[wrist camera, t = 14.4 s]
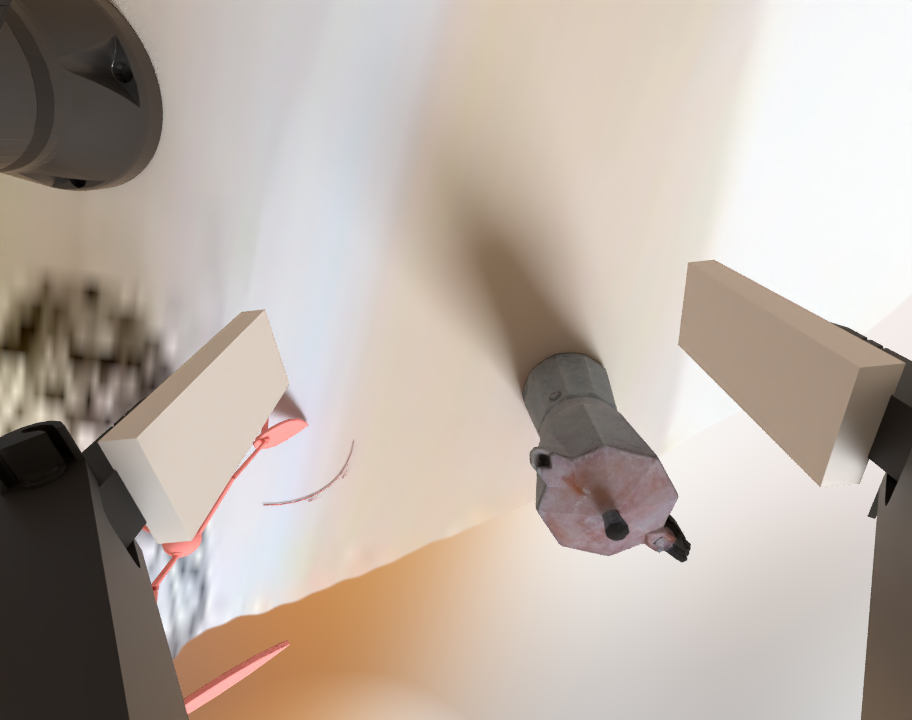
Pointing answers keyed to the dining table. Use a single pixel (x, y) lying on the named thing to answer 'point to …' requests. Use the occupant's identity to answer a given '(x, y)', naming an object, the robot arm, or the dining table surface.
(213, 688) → the figurine
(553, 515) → the moka pot
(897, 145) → the dining table surface
